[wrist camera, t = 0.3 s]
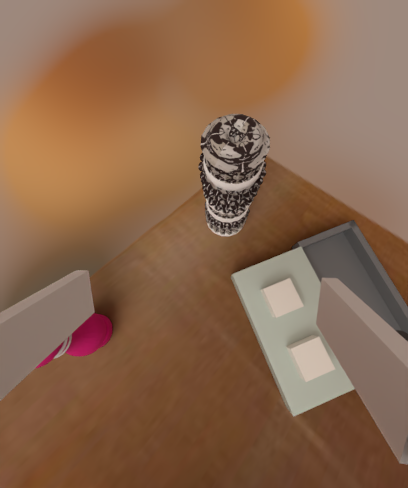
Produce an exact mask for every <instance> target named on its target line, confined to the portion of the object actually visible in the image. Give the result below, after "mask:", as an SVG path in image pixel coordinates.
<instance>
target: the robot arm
mask: <svg viewBox="0 0 408 488" xmlns="http://www.w3.org/2000/svg"><path fill="white" fill-rule="evenodd" d="M94 312H95V311H94V304H93V298H92V291H91V285H90V278H89V272H88V271H84V270H76V271H74V272H72V273H70V274H69V275H67V276H65V277H64V278H62V279H60V280H58V281H56V282H54V283H53V284H51V285H49V286H48V287H45V288H44V289H42V290H40V291H38V292H37V293H35V294H33V295H31V296H29V297H28V298H26V299H24V300H23V301H20V302H19V303H17V304H15V305H13V306H11V307H10V308H8V309H6V310H4V311H3V312H1V313H0V401H1V400H2V399H3V398H4V397H5V396H6V395H7V394H8V393H9V392H10V391H11V390H12V389H13V388H14V387H16V386H17V385H18V384H19V383H20V382H21V381H22V380H23V379H24V378H25V377H26V376H27V375H28V374H29V373H30V372H31V371H33V370H34V369H35V368H36V367H37V366H38V365H39V364H40V363H41V362H42V361H43V360H44V359H45V358H46V357H47V356H49V355H50V354H51V353H52V352H53V351H54V350H55V349H56V348H57V347H58V346H59V345H60V344H61V343H62V342H63V341H64V340H66V339H67V338H68V337H69V336H70V335H71V334H72V333H73V332H74V331H75V330H76V329H77V328H78V327H79V326H80V325H82V324H83V323H84V322H85V321H86V320H87V319H88V318H89V317H90V316H91V315H92V314H93V313H94ZM316 324H317V326H318V328H319V329H320V331H321V333H322V335H323V336H324V338H325V340H326V341H327V343H328V345H329V346H330V348H331V350H332V351H333V353H334V355H335V356H336V358H337V360H338V361H339V363H340V365H341V366H342V368H343V370H344V371H345V373H346V375H347V376H348V378H349V380H350V381H351V383H352V385H353V386H354V388H355V390H356V391H357V393H358V395H359V396H360V398H361V400H362V401H363V403H364V405H365V406H366V408H367V410H368V411H369V413H370V415H371V416H372V418H373V420H374V421H375V423H376V425H377V426H378V428H379V430H380V431H381V433H382V435H383V436H384V438H385V440H386V441H387V443H388V445H389V446H390V448H391V450H392V451H393V453H394V455H395V456H396V458H397V460H398V461H399V463H402V464H408V334H407V333H406V332H404V331H401V330H394V329H393V328H392V327H391V326H390V325H389V324H388V323H386V322H385V321H384V320H383V319H382V318H381V317H380V316H379V315H378V314H376V313H375V312H374V311H373V310H372V309H371V308H370V307H369V306H368V305H366V304H365V303H364V302H363V301H362V300H361V299H360V298H359V297H358V296H356V295H355V294H354V293H353V292H352V291H351V290H350V289H349V288H348V287H347V286H345V285H344V284H343V283H342V282H341V281H340V280H339V279H338V278H322V280H321V288H320V296H319V304H318V312H317V320H316Z"/></svg>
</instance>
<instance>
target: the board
mask: <svg viewBox="0 0 408 488" xmlns="http://www.w3.org/2000/svg"><path fill="white" fill-rule="evenodd" d="M288 278H290V279H291V281H292V283H293V285H294V287H295V289H296V291H297V293H298V295H299V297H300V299H301V301H302V303H303V305H304V306H303V307H301V308H299V309H296V310H294V311H291V312H289V313H287V314H284V315H282V316H280V317H277V318H274V317H272V315H271V313H270V310H269V308H268V306H267V304H266V302H265V300H264V297H263V295H262V293H261V291H260V290H262V289H264V288H266V287H269V286H271V285H274V284H276V283H279V282H281V281H284V280H286V279H288ZM231 279H232V281H233V284H234V286H235V288H236V291H237V293H238V295H239V298H240V300H241V302H242V305H243V307H244V309H245V312H246V314H247V316H248V319H249V321H250V323H251V326H252V328H253V330H254V333H255V335H256V337H257V340H258V342H259V344H260V347H261V349H262V351H263V354H264V356H265V358H266V361H267V363H268V365H269V368H270V370H271V373H272V375H273V377H274V380H275V382H276V384H277V387H278V389H279V391H280V394H281V396H282V398H283V401H284V403H285V405H286V407H287V408H288V410H289V411H290V412H291V414H292V415H293V417H294V416H296V415H298V414H300V413H303V412H305V411H307V410H309V409H311V408H314V407H316V406H318V405H320V404H323V403H325V402H327V401H329V400H331V399H334V398H336V397H338V396H340V395H342V394H345V393H347V392H349V391H351V390H353V389H355V388H354V386H353V385H352V383H351V381H350V380H349V378H348V376H347V375H346V373H345V371H344V370H343V368H342V366H341V365H340V363H339V361H338V360H337V358H336V356H335V355H334V353H333V351H332V350H331V348H330V346H329V345H328V343H327V341H326V340H325V338H324V336H323V335H322V333H321V331H320V329H319V328H318V326H317V324H316V320H317V312H318V304H319V296H320V288H321V283H320V281H319V279H318V277H317V275H316V273H315V271H314V270H313V268H312V266H311V264H310V262H309V260H308V258H307V257H306V255H305V253H304V251H303V249H302V247H298V248H296V249H293V250H291V251H288V252H286V253H283V254H281V255H278V256H276V257H273V258H271V259H268V260H266V261H263V262H261V263H259V264H256V265H254V266H251V267H249V268H246V269H244V270H241V271H239V272H236V273H234V274H232V275H231ZM311 335H315V336H319V337H320V339H321V341H322V343H323V345H324V347H325V349H326V351H327V353H328V355H329V357H330V359H331V361H332V363H333V365H334V367H335V370H332V371H330V372H328V373H326V374H323V375H321V376H319V377H317V378H314V379H312V380H310V381H308V382H305V381H304V380H303V379H301V378H300V376H299V374H298V372H297V370H296V367H295V365H294V363H293V361H292V359H291V357H290V354H289V352H288V350H287V348H286V346H288V345H290V344H292V343H295V342H297V341H299V340H302V339H304V338H306V337H309V336H311Z"/></svg>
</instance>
